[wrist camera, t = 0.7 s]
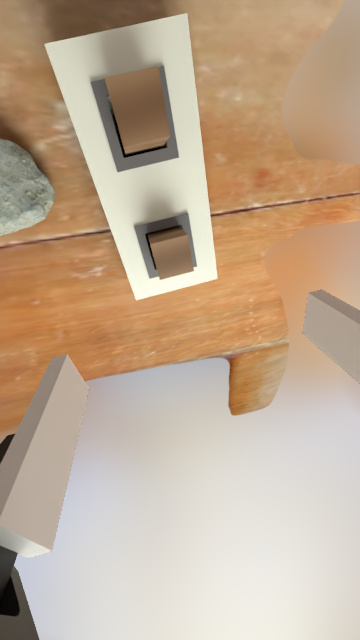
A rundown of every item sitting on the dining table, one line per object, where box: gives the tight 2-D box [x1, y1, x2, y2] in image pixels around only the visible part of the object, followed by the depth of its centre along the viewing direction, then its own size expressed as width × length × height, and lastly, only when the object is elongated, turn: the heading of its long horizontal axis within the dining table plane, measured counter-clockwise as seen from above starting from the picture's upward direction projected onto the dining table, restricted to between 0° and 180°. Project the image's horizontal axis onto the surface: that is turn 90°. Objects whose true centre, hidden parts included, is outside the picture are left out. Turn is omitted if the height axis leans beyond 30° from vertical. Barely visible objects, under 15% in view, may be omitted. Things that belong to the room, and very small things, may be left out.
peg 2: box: [148, 226, 194, 280], centre depth 26 cm, size 4×4×6 cm
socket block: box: [44, 13, 217, 300], centre depth 27 cm, size 24×12×6 cm, turn 12°
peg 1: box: [105, 66, 170, 155], centre depth 19 cm, size 4×4×6 cm
